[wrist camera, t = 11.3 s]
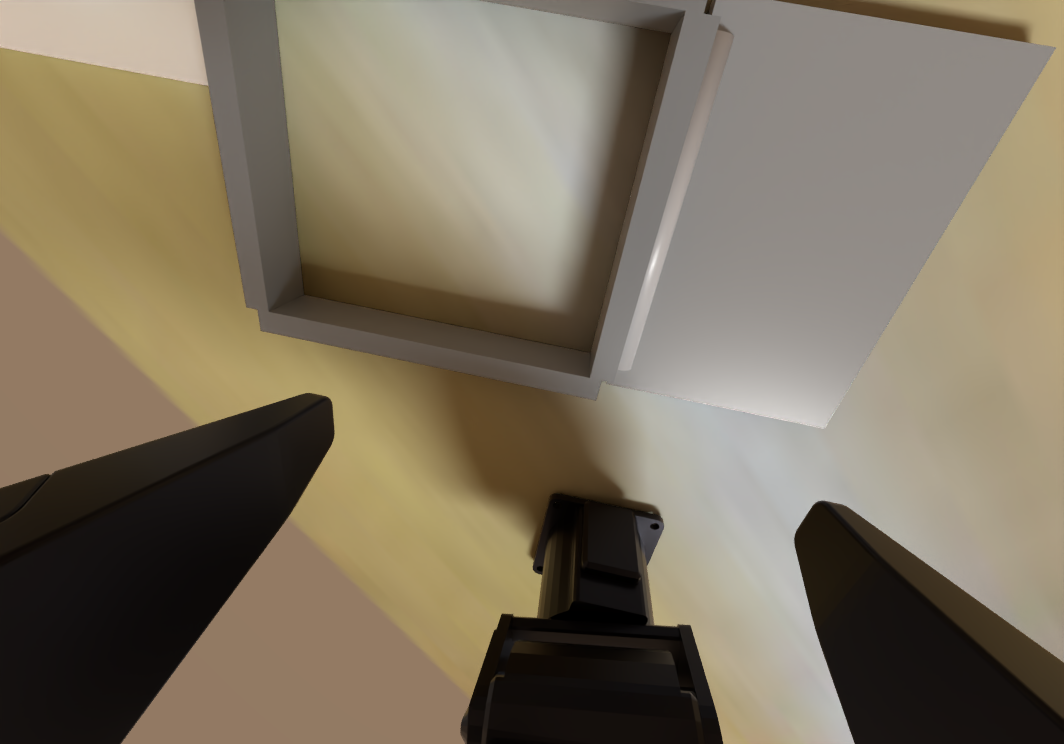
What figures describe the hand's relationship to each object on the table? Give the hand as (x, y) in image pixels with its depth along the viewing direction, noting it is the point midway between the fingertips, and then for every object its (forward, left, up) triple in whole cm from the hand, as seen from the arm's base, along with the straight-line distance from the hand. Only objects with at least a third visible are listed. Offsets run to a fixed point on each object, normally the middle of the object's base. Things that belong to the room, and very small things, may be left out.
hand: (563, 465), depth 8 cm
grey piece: (+3, +1, -12) cm, 12 cm away
